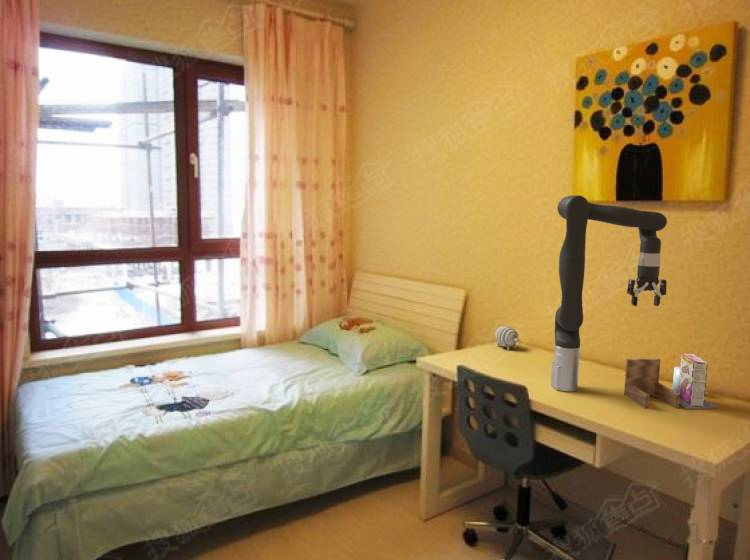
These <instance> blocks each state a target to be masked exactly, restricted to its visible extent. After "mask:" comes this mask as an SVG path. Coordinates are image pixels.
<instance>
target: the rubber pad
mask: <svg viewBox="0 0 750 560" xmlns="http://www.w3.org/2000/svg"><path fill="white" fill-rule="evenodd" d="M679 407H681V408H683V409H684V410H714V409H715V410H718V409H719V406H718V405H715V404H714V403H711V402H710V401H709V400H706V398H705V399H704V407H701V406H690V405H689V404H688V403H687V402H685V401H684V400H683V399H682V398H681V397H680V401H679Z"/></svg>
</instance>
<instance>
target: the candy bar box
mask: <svg viewBox="0 0 750 560" xmlns="http://www.w3.org/2000/svg"><path fill="white" fill-rule="evenodd" d="M708 364H709V363H708V362H707V361H705V360H703V358H701V357H699V356H698V355H697V354H696V353H681V354H680V365H679V367H680V376H679V389H678V394H680V397H681V398H682V399H683V400H684V401H685V402H687V403H688V404H689V405H690V406H701V407H704V399H705V400H706V398H705V397H706V387H707V385H706V384H707V377H708V376H707V375H708Z"/></svg>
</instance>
